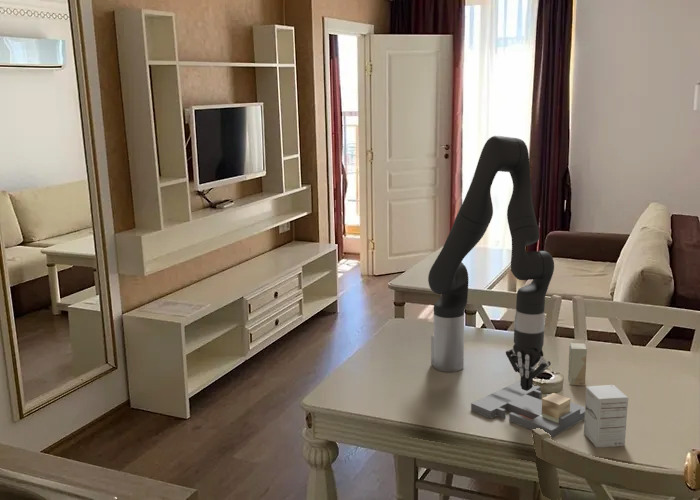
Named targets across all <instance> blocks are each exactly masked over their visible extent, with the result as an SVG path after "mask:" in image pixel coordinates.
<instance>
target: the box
mask: <svg viewBox="0 0 700 500" xmlns="http://www.w3.org/2000/svg"><path fill="white" fill-rule="evenodd" d="M568 350H569V351H568V352H569V353H568V370H567V371H568V375H567V380H568V383H569V385H570V386H586V372H587V353H588V351H587V350H588V349H587V346H586V343H579V342H578V343H577V342H576V343H575V342H570V343H569V349H568Z"/></svg>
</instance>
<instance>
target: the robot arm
mask: <svg viewBox="0 0 700 500" xmlns="http://www.w3.org/2000/svg"><path fill="white" fill-rule="evenodd" d="M530 163H531V162H530V154H529V149H528V146H527V144H526V142H525V141H524V139H520V138H517V137H510V136H502V135H493V136H490V137H489V138H488V139H487V140H486V142H485V143H484V145H483V147H482V149H481V152H480V156H479V158H478V161H477V165H476V168H475V170H474V173H473V176H472V180H471V183H470V185H469V186H468V187H469V188H468V190H467V192H466V195H465V197H464V200H463V202H462V204H461V206H460V208H459V210H458V212H457V214H456V217H455V219H454V222H453V224H452V226H451V229H450V230H449V233H448V235H447V238H446V240H445V242H444V244H443V247H442V248H441V250H440V252H439V253H438V256H437V257H436V259H435V261H434V262H433V264H432V266H431V267H430V270H429V272H428V276H427V277H428V278H427V279H428V280H427V282H428V286H429V288H430V290H431V291H432V292H433V293H435V294H436V295H440V297H439V298H438V299H437V301H435V302H434V305H433V334H432V335H431V336H430V366H433V368H434V369H435V370H437V371H440V372H447V373H455V372H459V371H461V370H463V369H464V363H465V362H464V361H465V359H464V357H465V352H464V350H465V309H466V307H467V304H468V295H469V273H468V269H467V267H466V265H464V263H463V260H464V258H466V256H467V255H468V254H469V253H470V252H471V251H472V250H473V248H474V247H476V245H477V244H478V243H479V242H480V241H481V239H482V238H483V237H484V235H485V233H486V232H487V230H488V228H489V225H490V224H491V221H492V218H493V215H494V208H493V201H492V197H491V195H492V193H491V189H492V185H493V182H494V180H495V177H496V175H497V174H498V172H504V173H509V175H510V177H511V180H512V193H511V196H510V199H509V202H508V204H507V205H508V206H507V208H506V209H507V210H506V211H507V212H506V218H507V224H508V229H509V232H510V237H511V238H510V239H511V256H510V270H511V273H512V275H513V277H514V278H516V279H517V280H519V281H529V280H532V281H531V283H528V285H524V286H523V287H520V288H518V290H517V292H516V302H515V303H516V305H515V314H514V323H513V324H514V327H513V344H514V345H513V347H512V348H511V349H509V350H506V351H505V355H506V357H507V358H508V361H509V363H510V364H511V367H512V368H513V370H514V372H516V373H518V374H519V375H520V380H521V383H520V385H521V387H522V389H523V390H525V391H528V390H530V389H531V388H532V387H533V383H534V379H535V378H537V377H539V376H541V375H542V374H543V373H544V372H545V371H546V369H548V368H549V367H550V366H551V361H549V360H547V359H545V357H544V351H543V346H544V341H545V323H546V320H545V319H546V317H545V304H546V295H547V292H548V289H549V286H550V283H551V280H552V278H553V275H554V271H555V261H554V258H553V256H552V255H551V254H550V252H548V251H546V250H535V251H526V247H528V246H530V245H533V244H536V243H537V242H539V240H540V231H539V226H538V221H537V218H536V215H535V214H536V213H535V210H534V209H535V208H534V204H533V195H532V180H531V178H532V177H531V166H530V165H531V164H530ZM537 365H538V367H537Z"/></svg>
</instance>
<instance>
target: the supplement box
mask: <svg viewBox="0 0 700 500" xmlns="http://www.w3.org/2000/svg"><path fill="white" fill-rule="evenodd" d="M628 404H629V397H628V396H627V395H626V394H625V393H624V392H623V391H622V390H620V389H619V388H618V387H617V385H614V384H605V385H603V384H602V385H590V386H586V388H585V404H584V407H585V418H584V419H583V420H584V421H583V422H584V424H583V434H584V435H585V436H586V437H587V438H588V439H589V441H591V443H592V444H593V445H594V447H596V448H609V447H623V446H625V444H626V432H627V431H626V430H627V418H628V407H629V405H628Z"/></svg>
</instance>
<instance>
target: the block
mask: <svg viewBox="0 0 700 500" xmlns="http://www.w3.org/2000/svg"><path fill="white" fill-rule="evenodd" d="M549 394H550V395H548V396H546V395H545V396H544V397H541V400H542V413H543V414H546V415H548V416H551V417H553V418H556V419H559V417H561V416H563V415H564V414H566V413H568V412H570V402H571V398H569V397H567V396H563V395H561V394H558V393H556V392H552V393H549Z"/></svg>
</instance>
